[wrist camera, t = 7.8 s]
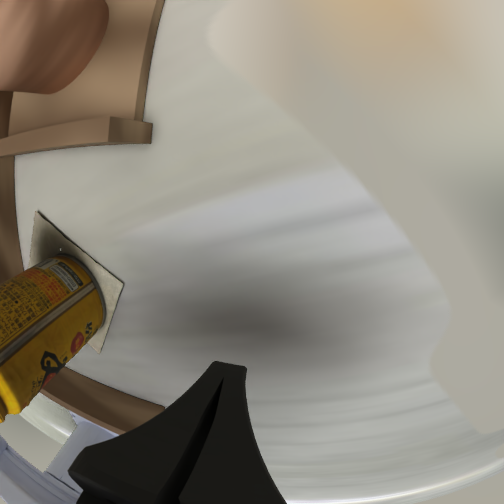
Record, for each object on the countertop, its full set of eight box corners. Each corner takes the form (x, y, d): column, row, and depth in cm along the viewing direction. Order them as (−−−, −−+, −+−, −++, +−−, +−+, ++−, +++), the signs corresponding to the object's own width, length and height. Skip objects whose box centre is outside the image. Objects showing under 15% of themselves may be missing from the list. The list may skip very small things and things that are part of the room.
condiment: (101, 352, 17) (7, 465, 6) (27, 286, 17) (-74, 359, 6) (125, 282, 15) (-28, 423, 4) (38, 209, 14) (-106, 271, 3)
